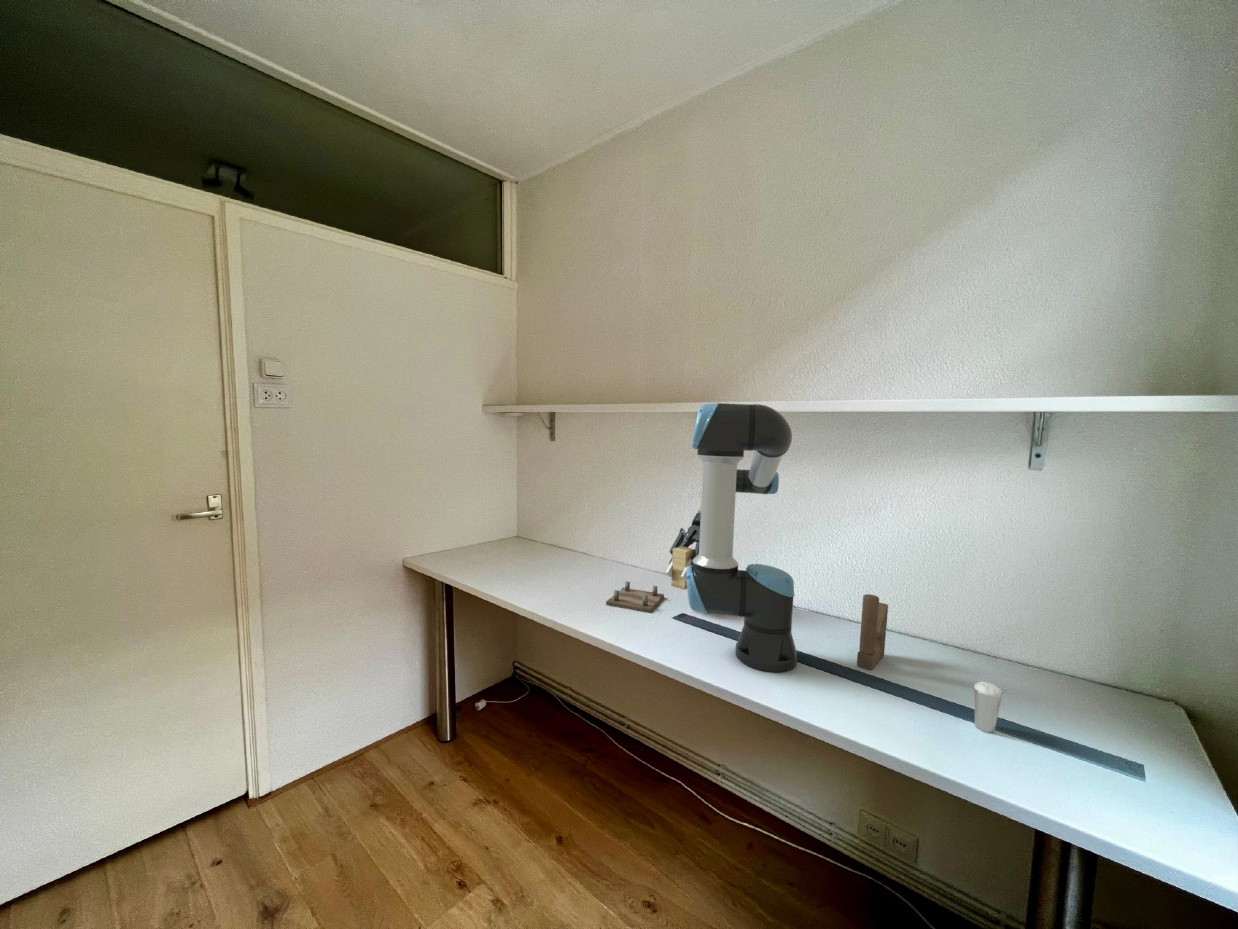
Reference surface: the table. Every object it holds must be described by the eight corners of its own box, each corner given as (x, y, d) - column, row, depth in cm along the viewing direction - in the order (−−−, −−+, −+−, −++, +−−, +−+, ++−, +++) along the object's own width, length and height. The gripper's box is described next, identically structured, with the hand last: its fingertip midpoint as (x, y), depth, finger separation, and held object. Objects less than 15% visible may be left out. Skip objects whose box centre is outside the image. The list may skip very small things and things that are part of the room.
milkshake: (994, 740, 95) (999, 690, 94) (965, 724, 100) (970, 677, 99) (1008, 734, 97) (1013, 686, 96) (979, 719, 102) (983, 673, 101)
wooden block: (884, 656, 128) (889, 590, 127) (871, 671, 120) (877, 600, 119) (869, 652, 131) (874, 586, 129) (856, 666, 123) (861, 596, 121)
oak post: (684, 589, 152) (685, 551, 151) (671, 585, 156) (672, 548, 155) (693, 586, 156) (694, 549, 155) (680, 582, 159) (681, 546, 158)
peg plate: (649, 612, 153) (650, 599, 153) (606, 604, 159) (606, 592, 159) (663, 597, 167) (664, 585, 167) (623, 590, 173) (623, 579, 172)
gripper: (734, 529, 160) (704, 590, 149) (688, 521, 172) (657, 576, 161) (726, 515, 155) (695, 576, 144) (680, 507, 167) (648, 564, 157)
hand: (676, 576), depth 153 cm, fingers closed on oak post, 5 cm apart
